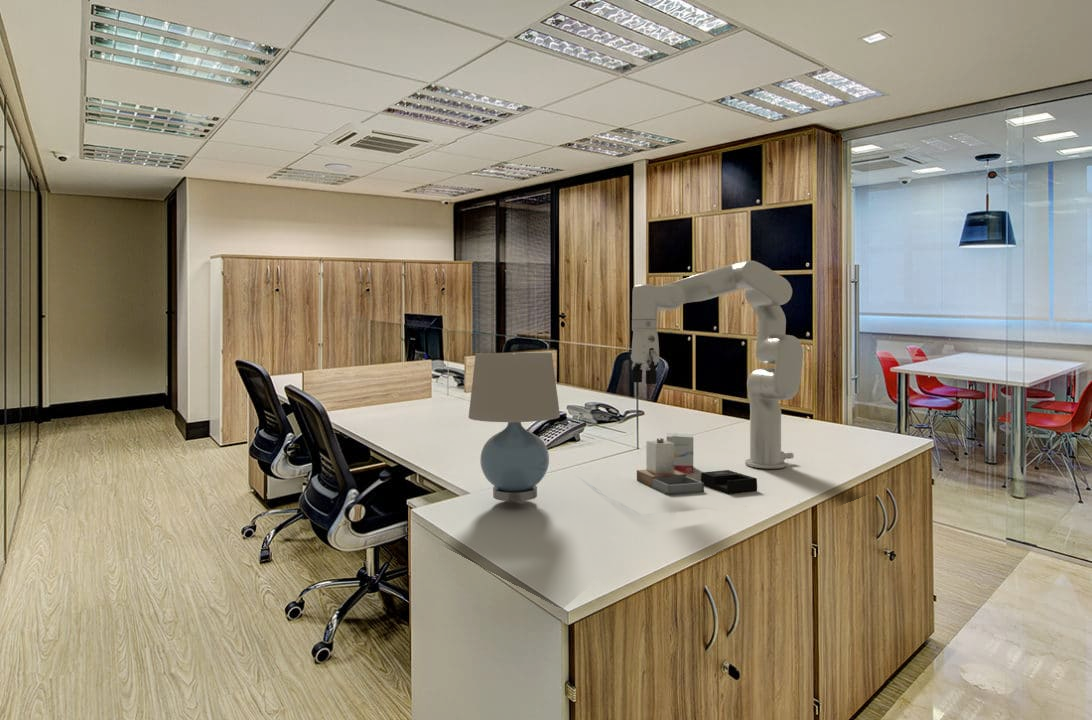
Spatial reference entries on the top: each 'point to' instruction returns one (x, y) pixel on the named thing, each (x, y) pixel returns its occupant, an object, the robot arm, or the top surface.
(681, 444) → the ink box
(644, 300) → the robot arm
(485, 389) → the lamp
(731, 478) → the battery charger
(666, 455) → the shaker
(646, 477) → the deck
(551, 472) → the top surface
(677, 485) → the tray
